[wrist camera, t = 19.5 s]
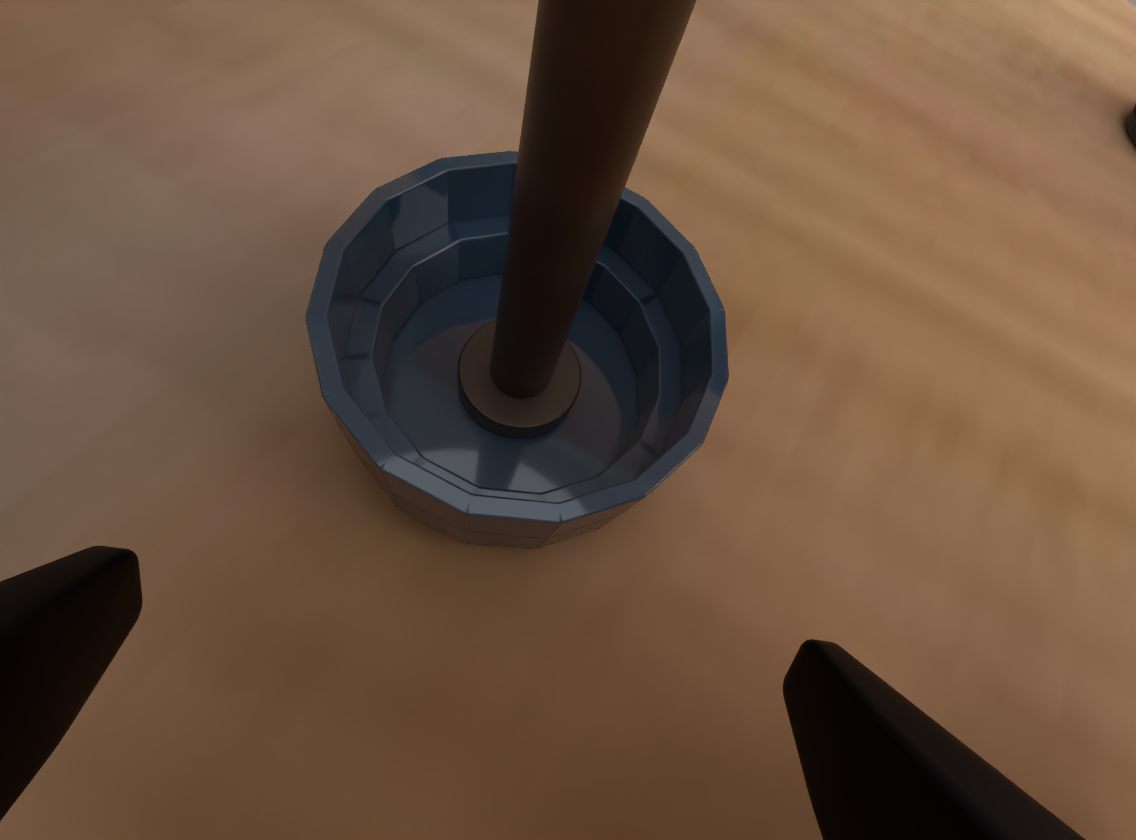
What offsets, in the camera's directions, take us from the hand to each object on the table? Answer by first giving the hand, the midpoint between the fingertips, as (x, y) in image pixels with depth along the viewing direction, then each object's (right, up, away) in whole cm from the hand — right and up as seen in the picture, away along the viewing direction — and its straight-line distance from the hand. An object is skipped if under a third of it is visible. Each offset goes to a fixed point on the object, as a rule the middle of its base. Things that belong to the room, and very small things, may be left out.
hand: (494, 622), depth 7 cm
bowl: (-1, +4, +12) cm, 12 cm away
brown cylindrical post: (-1, +4, +11) cm, 12 cm away
